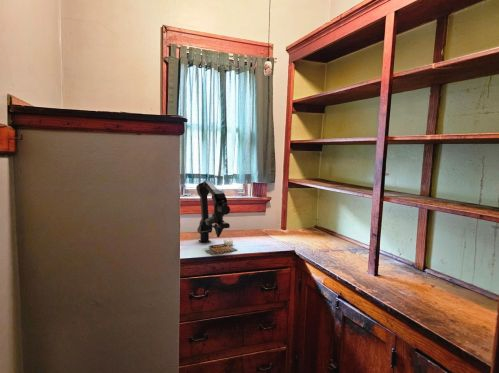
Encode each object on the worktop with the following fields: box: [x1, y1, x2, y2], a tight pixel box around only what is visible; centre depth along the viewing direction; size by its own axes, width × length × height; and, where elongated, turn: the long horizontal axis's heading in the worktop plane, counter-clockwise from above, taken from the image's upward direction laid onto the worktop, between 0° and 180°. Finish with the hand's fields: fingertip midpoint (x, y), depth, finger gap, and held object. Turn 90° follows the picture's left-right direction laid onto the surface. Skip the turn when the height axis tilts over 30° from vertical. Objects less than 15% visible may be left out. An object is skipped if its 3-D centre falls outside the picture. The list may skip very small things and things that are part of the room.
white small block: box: [223, 238, 234, 247], centre depth 207 cm, size 6×6×4 cm
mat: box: [204, 246, 238, 256], centre depth 194 cm, size 9×18×1 cm, turn 124°
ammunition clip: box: [208, 243, 232, 253], centre depth 193 cm, size 11×2×12 cm
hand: (218, 237), depth 197 cm, fingers closed
